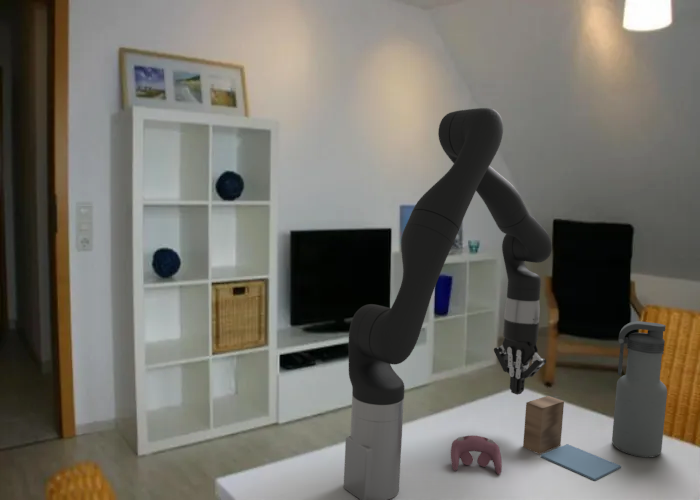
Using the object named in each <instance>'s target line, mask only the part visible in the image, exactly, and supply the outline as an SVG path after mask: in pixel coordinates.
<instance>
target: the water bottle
mask: <svg viewBox="0 0 700 500" xmlns="http://www.w3.org/2000/svg"><path fill="white" fill-rule="evenodd" d="M634 330H636V331H637V330H644V331H645V330H646V331H647V333H646V332H632V333H630V332H631V331H634ZM664 332H666V324H662V323H659V322H658V323H657V322H649V321H648V322H647V321H639V320H638V321H630V322H629V323H627V324H625V325H624V326H623V327H622V328H621V330H620V331H619V334H618V340H617V341H618V343H619V344H620V347H619V348H620V349H619V357H618V367H617V376H620V377H619V378H618V379H617V382H616V389H615V402H614V413H613V424H612V434H611V435H612V436H611V442H612V444H613V446H614V447H616V448H615V449H618V450H620V451H621V452H623V453H625V454H628V455H631V456H634V457H639V458H654V457H657V456H659V455H660V454H661V453H662V449H663V437H664V427H665V417H666V406H667V399H668V398H667V397H668V389H667V386H666V385H665V384H664V382H662V380H661V370H662V369H661V368H662V358H663V357H662V356H663V355H664V351H665V339H664ZM628 333H630V334H628ZM627 334H628V336H627ZM626 336H627V337H626ZM626 344H627V347H626V349H627V358H626V359H627V360H626V368H625V369H626V371H625V374H624V375H622V371H623V361H624V348H625V347H624V346H625V345H626Z"/></svg>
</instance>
